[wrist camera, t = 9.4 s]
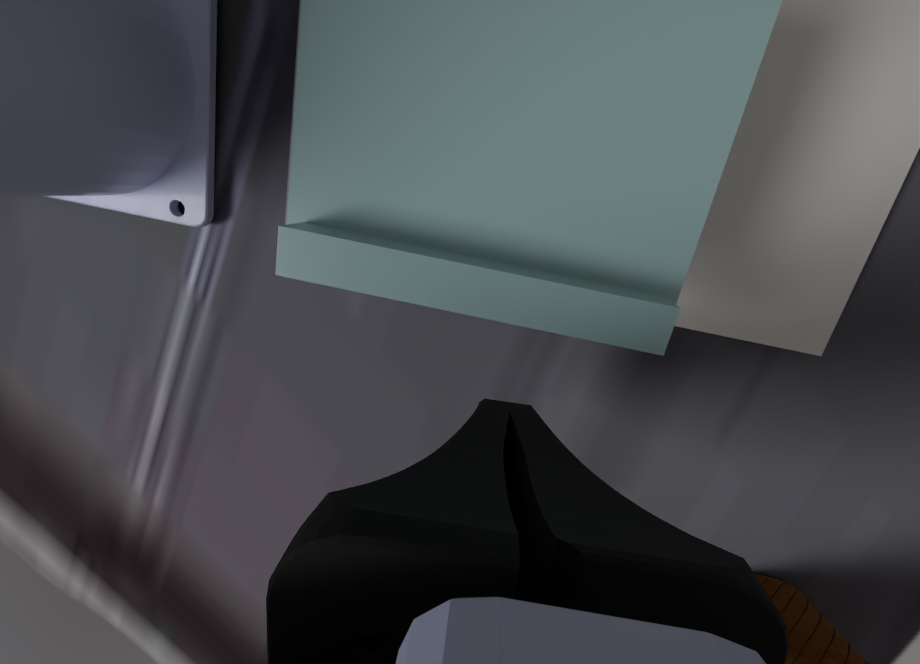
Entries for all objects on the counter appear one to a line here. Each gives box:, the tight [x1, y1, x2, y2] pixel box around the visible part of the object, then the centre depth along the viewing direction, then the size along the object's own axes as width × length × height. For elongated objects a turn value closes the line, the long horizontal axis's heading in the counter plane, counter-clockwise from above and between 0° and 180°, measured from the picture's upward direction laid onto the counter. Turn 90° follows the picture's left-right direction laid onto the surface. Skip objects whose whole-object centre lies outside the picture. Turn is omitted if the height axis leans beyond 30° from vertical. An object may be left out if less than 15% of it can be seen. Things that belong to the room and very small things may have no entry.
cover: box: [275, 0, 783, 356], centre depth 9 cm, size 9×7×2 cm
